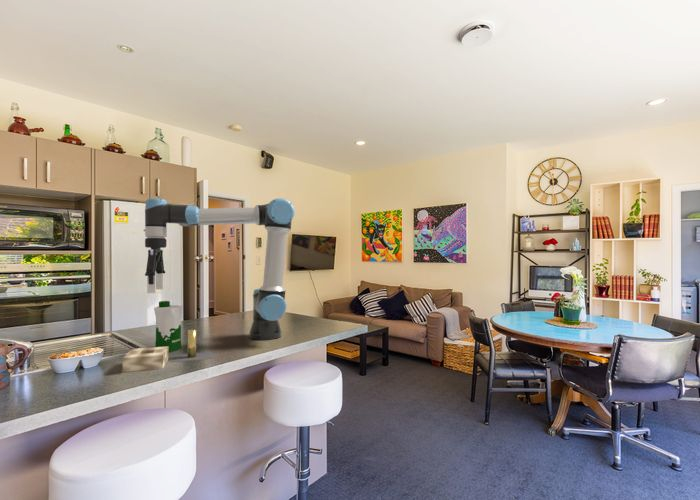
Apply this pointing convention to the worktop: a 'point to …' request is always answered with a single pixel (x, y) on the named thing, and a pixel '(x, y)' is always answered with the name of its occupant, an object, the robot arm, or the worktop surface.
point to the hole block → (145, 359)
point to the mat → (185, 358)
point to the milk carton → (168, 325)
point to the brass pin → (191, 343)
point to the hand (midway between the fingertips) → (155, 291)
